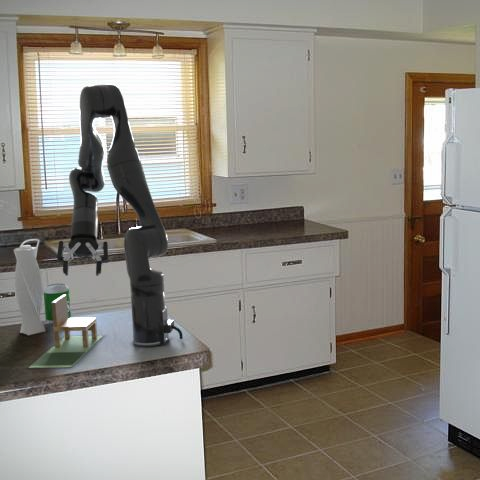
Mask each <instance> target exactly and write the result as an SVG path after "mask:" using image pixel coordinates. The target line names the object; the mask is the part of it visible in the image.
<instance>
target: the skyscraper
mask: <svg viewBox="0 0 480 480" xmlns="http://www.w3.org/2000/svg"><path fill="white" fill-rule="evenodd" d="M31 241H32V242H33V241H36V242H37V243H36V246H32V245H31V244H26V243H27V242H31ZM40 241H41V240H40V239H39V238H30V239H26V240H24V241H23V242H22V243H21V244H20V245H19V247H16V248H14V249H13V253H14V256H15V259H16V264H15V271H14V287H15V288H14V289H15V294H16V295H15V296H16V302H17V305H18V309H19V313H20V317H21V320H22V321H21V325H20V330H19V333H20V334H24V335H27V336H32V335H35V334H36V335H37V334H40V333H44V332H46V328H45V326H44V324H43V321H42V319H41V315H42V308H43V301H44V292H43V290H44V286H43V285H44V284H43V277H42V273H41V269H40V266H39V263H38V260H37V255H38V251H39V250H38V249H39V245H40Z"/></svg>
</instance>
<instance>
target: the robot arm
mask: <svg viewBox="0 0 480 480" xmlns="http://www.w3.org/2000/svg"><path fill="white" fill-rule="evenodd" d="M79 95H80V96H79V127H80V143H79V144H80V145H79V151H78V159H77V164H78V166H79V167H74V168H73V169H71V171H70V172H69V175H68V182H69V186H70V189H71V193H72V197H73V210H72V216H71V227H70V228H71V229H70V240H69V242H64V241H63V240H59V241H58V245H57V246H58V247H57V252H56V253H57V254H56V259H57V262H58V263H61V264H62V273H63V274H64V276H69V266H70V265H69V263H70V262H71V261H73V260H74V259H75V258H76V257H77V258H90V257H91V259H93V260H94V261H95V262H96V263H95V276H96V277H98V276H99V275H101V274H102V265H103V264H107V263H109V247H108V246H109V245H108V242H107V241H103V242H100V243H99V242H98V230H99V229H98V227H99V217H98V207H99V200H98V199H99V198H98V197H97V196H96V195H95V194H93V193H99V192H101V191H102V190H103V189H104V187H105V183H106V182H105V181H106V179H105V175H104V170H103V161H104V155H105V143H104V140H103V138H102V137H101V135H100V134H99V133H98V131H97V130H96V127H95V126H94V125H95V124H94V123H95V120H96V119H105V118H111V119H112V123H113V130H114V131H113V138H112V142H111V145H110V148H109V151H108V154H107V158H106V167H107V171H108V175H109V177H110V180H111V184H112V187H113V188H114V190H115V191H116V192H117V194H119V195H120V197H121V198H122V199H123V200H124V201H125V202H126V203H127V204H128V205H129V207H131V208H132V209H133V211H134V212H135V215H136V216H137V218H138V221H139V222H140V223H139V224H140V226H136V227H131V228H129V229H128V230H127V231H126V232H125V235H124V239H123V246H124V247H123V248H124V258H125V266H126V274H127V276H128V278H129V284H130V285H129V287H130V289H129V290H130V304H131V320H132V321H131V322H132V338H133V339H132V343H133V345H134V346H138V347H145V348H147V347H149V348H150V347H156V346H163V345H166V343H167V342H168V340H169V338H170V337H169V334H171V333H172V332H173V330H175V331H177V333H178V334H179V335H178V336H179V339H180V340H182V339H183V336H184V335H183V332H182V330H181V329H180V328H179V327H177V326H176V325H175V320H174V319H168V317H169V316H168V306H166V299H165V297H166V295H165V278H164V273H163V272H162V271H161V270H160V269H153V268H151V265H150V259H155V258H159V257H162V256H163V257H164V256H165V254H166V253H168V249H169V238H168V235H167V232H166V228H165V226H164V224H163V222H162V219H161V217H160V215H159V213H158V210H157V207H156V205H155V201H154V200H153V197H152V195H151V191H150V188H149V185H148V182H147V179H146V175H145V172H144V171H145V170H144V168H143V164H142V161H141V159H140V156H139V152H138V150H137V147H136V143H135V141H134V137H133V133H132V130H131V126H130V122H129V117H128V113H127V108H126V103H125V99H124V96H123V93H122V90H121V89H120V87H119V86H118V85H117V84H115V83H105V84H104V83H103V84H95V85H94V84H93V85H87V86H84V87H83V88H82V89H81V92H80V94H79ZM67 248H69V251H68V252H67V253H66V255H65V256H64V251H66V250H67ZM99 248H100V250H101V251H103V256H102V257H101V255H99V253H98V252H97V250H98V249H99Z"/></svg>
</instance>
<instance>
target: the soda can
mask: <svg viewBox="0 0 480 480" xmlns="http://www.w3.org/2000/svg"><path fill="white" fill-rule="evenodd" d="M62 295H66V296H67V309H68V318H72V312H71V311H72V310H71V298H70V297H71V295H70V287H69V286H68V285H67V284H66V283H62V282H61V283H60V282H59V283H58V282H56V283H51V284H46V285H45V287H43V303H44V304H43V305H44V315H45V322H46V323H47V324H49V325H51V326H53V313H52V302H53V301H55V300H56V299H58V298H59V297H60V296H62Z"/></svg>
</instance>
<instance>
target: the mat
mask: <svg viewBox="0 0 480 480" xmlns="http://www.w3.org/2000/svg"><path fill="white" fill-rule="evenodd" d="M102 337H104V335H101V334H100V335H97V338H96V339H92V335H88V343H89V346H88V347H83V338H82V335H70V339H65V336H64V337H62V339H60V342H61V347H60V348H55V344H54V345H53V346H52V347H51V348H50V349H48V350H47V351H46V352H44V354H42V356H40V357H39V358H38V359H36V360H35V361H34V362H33V363H32V364H30V365H29V366H28V369H71V368H73V366H75V364H76V363H77V362H78V361H79V360H80V359H81V358H83V356H84V355H85V354H86V353H87V352H89V350H90V349H91V348H92V347H93V346H94V345H95V344H96V343H97V342H98V341H99V340H100V339H101V338H102Z"/></svg>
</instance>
